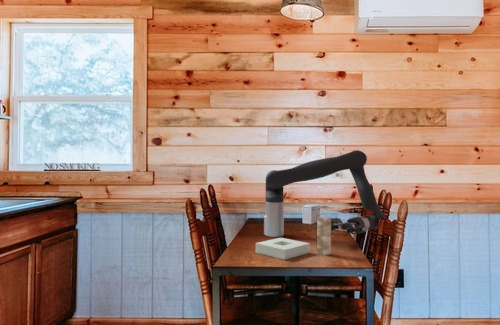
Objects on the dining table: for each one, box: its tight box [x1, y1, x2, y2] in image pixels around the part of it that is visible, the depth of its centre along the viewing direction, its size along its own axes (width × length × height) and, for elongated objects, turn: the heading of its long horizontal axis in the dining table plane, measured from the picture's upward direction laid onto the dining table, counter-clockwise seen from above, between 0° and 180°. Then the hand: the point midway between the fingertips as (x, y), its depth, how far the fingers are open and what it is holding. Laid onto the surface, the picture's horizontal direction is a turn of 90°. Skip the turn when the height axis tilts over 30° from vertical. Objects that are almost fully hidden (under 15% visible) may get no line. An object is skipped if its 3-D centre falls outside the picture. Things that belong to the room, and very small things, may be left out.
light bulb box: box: [301, 203, 321, 225], centre depth 230 cm, size 11×7×11 cm, turn 141°
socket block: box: [254, 237, 311, 261], centre depth 156 cm, size 16×16×4 cm
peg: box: [316, 216, 332, 256], centre depth 154 cm, size 4×4×15 cm
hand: (338, 229), depth 162 cm, fingers open, 8 cm apart
